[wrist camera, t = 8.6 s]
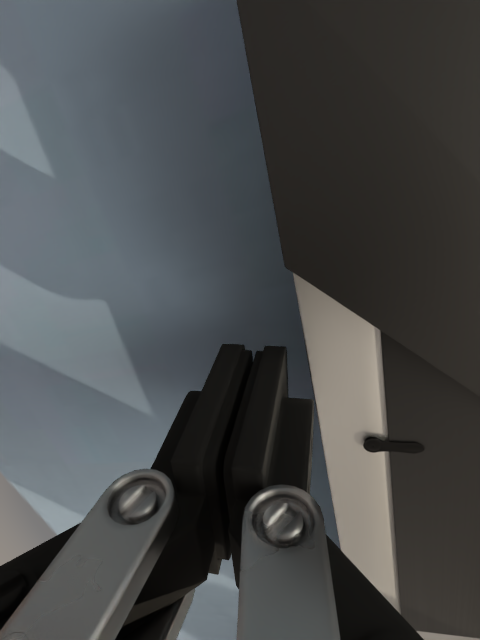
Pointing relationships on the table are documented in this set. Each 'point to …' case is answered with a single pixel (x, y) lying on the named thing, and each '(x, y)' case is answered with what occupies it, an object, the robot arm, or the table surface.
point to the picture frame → (385, 275)
